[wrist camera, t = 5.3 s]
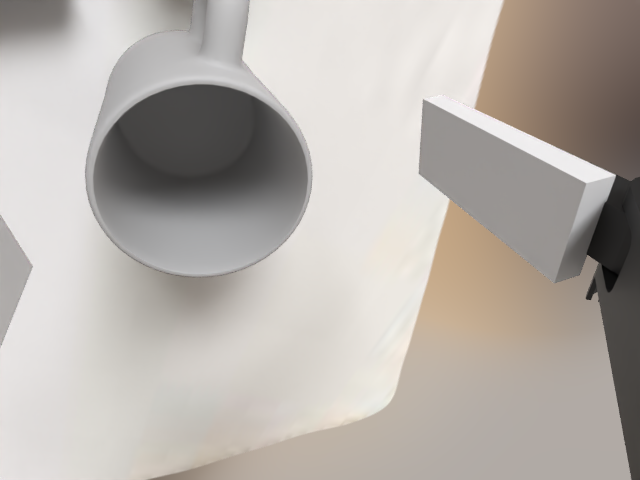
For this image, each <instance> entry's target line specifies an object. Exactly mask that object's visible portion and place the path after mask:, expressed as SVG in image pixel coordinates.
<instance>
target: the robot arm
mask: <svg viewBox="0 0 640 480" xmlns="http://www.w3.org/2000/svg"><path fill="white" fill-rule="evenodd" d="M419 174H420V175H421V176H422V177H423V178H425V179H426V180H427V181H428V182H430V183H431V184H432V185H433V186H435V187H436V188H437V189H438V190H439V191H441V192H442V193H443V194H444V195H446V196H447V197H448V198H449V199H451V200H452V201H453V202H454V203H456V204H457V205H458V206H459V207H460V208H462V209H463V210H464V211H465V212H467V213H468V214H469V215H470V216H472V217H473V218H474V219H475V220H477V221H478V222H479V223H480V224H481V225H483V226H484V227H485V228H486V229H488V230H489V231H490V232H491V233H493V234H494V235H495V236H496V237H498V238H499V239H500V240H501V241H502V242H504V243H505V244H506V245H508V246H509V247H510V248H511V249H513V250H514V251H515V252H516V253H517V254H519V255H520V256H521V257H522V258H524V259H525V260H526V261H527V262H528V263H530V264H531V265H532V266H533V267H535V268H536V269H537V270H538V271H540V272H541V273H542V274H543V275H545V276H546V277H547V278H548V279H549V280H551V281H552V282H553V283H557V282H560V281H563V280H566V279H569V278H572V277H575V276H578V275H580V273H581V270H582V267H583V265H584V262H585V259H586V257H587V255H589V256H590V257H592V258H593V259H595V260H596V261H598V262H599V264H598V266H597V269H596V271H595V274H594V276H593V279H592V282H591V284H590V287H589V289H588V292H587V295H586V299H587V300H591V298H592V296H593V294H594V293H596V292H598V297H599V300H598V302H600V307H601V313H602V319H603V325H604V330H605V335H606V340H607V347H608V352H609V357H610V363H611V368H612V374H613V380H614V385H615V391H616V396H617V402H618V407H619V413H620V418H621V423H622V429H623V435H624V440H625V445H626V451H627V456H628V462H629V467H630V473H631V479H632V480H640V177H638V178H635V179H634V180H632V181H629V180H627V179H624V178H622V177H620V176H618V175H616V174H614V173H611V172H609V171H607V170H605V169H603V168H601V167H599V166H597V165H594V164H592V163H590V162H586V160H584V159H581V158H579V157H577V156H574V155H573V154H571V153H569V152H566V151H564V150H562V149H560V148H558V147H554V146H552V145H550V144H548V143H546V142H543V141H542V140H539V139H537V138H535V137H533V136H531V135H529V134H526V133H524V132H522V131H520V130H518V129H516V128H514V127H512V126H509V125H507V124H505V123H503V122H501V121H499V120H497V119H494V118H492V117H490V116H488V115H486V114H484V113H482V112H479V111H477V110H475V109H473V108H471V107H469V106H467V105H464V104H462V103H460V102H458V101H456V100H454V99H452V98H449V97H447V96H445V95H439V96H434V97H429V98H424V99H423V108H422V125H421V142H420V160H419ZM32 267H33V266H32V264H31V263H30V261H29V260H28V258H27V256H26V255H25V253H24V252H23V250H22V248H21V247H20V245H19V244H18V242H17V240H16V239H15V237H14V236H13V234H12V232H11V231H10V229H9V228H8V226H7V225H6V223H5V221H4V220H3V218H2V217H1V215H0V347H1V345H2V342H3V340H4V337H5V335H6V332H7V330H8V327H9V325H10V322H11V320H12V317H13V315H14V312H15V310H16V307H17V305H18V302H19V300H20V297H21V295H22V292H23V290H24V287H25V285H26V282H27V280H28V277H29V275H30V272H31V270H32Z"/></svg>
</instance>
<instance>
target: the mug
mask: <svg viewBox="0 0 640 480" xmlns="http://www.w3.org/2000/svg"><path fill="white" fill-rule="evenodd" d="M248 12H249V0H194V2H193V10H192V18H191V25H190V30H189V31H186V30H170V31H163V32H159V33H155V34H152V35H150V36H147V37H145V38H143V39H141V40H139V41H138V42H136V43H135V44H133V45H132V46H131V47H130V48H128V49H127V50H126V52H125V53H124V54H123V55H122V56H121V57H120V59H119V60H118V62H117V63H116V65H115V66H114V68H113V70H112V72H111V75H110V77H109V81H108V84H107V88H106V93H105V97H104V100H103V103H102V107H101V110H100V113H99V116H98V119H97V122H96V125H95V129H94V132H93V135H92V138H91V142H90V146H89V149H88V153H87V158H86V168H85V179H86V191H87V195H88V200H89V203H90V206H91V208H92V211H93V214H94V216H95V218H96V219H97V221H98V223H99V225H100V226H101V228H102V230H103V231H104V232H105V233H106V235H107V236H108V237H109V239H110V240H111V241H112V242H113V243H114V244H115V245H116V246H117V247H118V248H119V249H120V250H122V251H123V252H124V253H126V254H127V255H128V256H130V257H131V258H133V259H134V260H136V261H138V262H140V263H141V264H143V265H146V266H148V267H150V268H153V269H155V270H158V271H161V272H164V273H168V274H172V275H178V276H185V277H211V276H220V275H224V274H229V273H233V272H236V271H239V270H242V269H245V268H247V267H249V266H251V265H254V264H256V263H257V262H259V261H261V260H263V259H264V258H266V257H267V256H269V255H270V254H271V253H273V252H274V251H276V250H277V249H278V248H279V247H280V246H281V245H282V244H283V243H284V242H285V241H286V240H287V239H288V238H289V237H290V235H291V234H292V233H293V232H294V230H295V229H296V227H297V226H298V224H299V223H300V221H301V219H302V217H303V215H304V213H305V210H306V208H307V205H308V202H309V198H310V194H311V188H312V163H311V158H310V152H309V149H308V146H307V143H306V140H305V138H304V136H303V134H302V132H301V130H300V128H299V126H298V125H297V123H296V122H295V120H294V119H293V118H292V116H291V115H290V113H289V112H288V111H287V110H286V109H285V108H284V106H283V105H282V104H281V103H280V102H279V101H278V100H277V99H276V98H275V96H274V95H273V94H272V93H271V92H270V91H269V90H268V89H267V88H266V87H265V85H264V84H263V83H262V82H261V81H260V80H259V79H258V78H257V77H256V76H255V75H254V74H253V73H252V71H251V70H250V69H249V67H248V66H247V65H246V64H245V63H244V61H243V60H242V55H243V48H244V41H245V35H246V28H247V21H248Z"/></svg>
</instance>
